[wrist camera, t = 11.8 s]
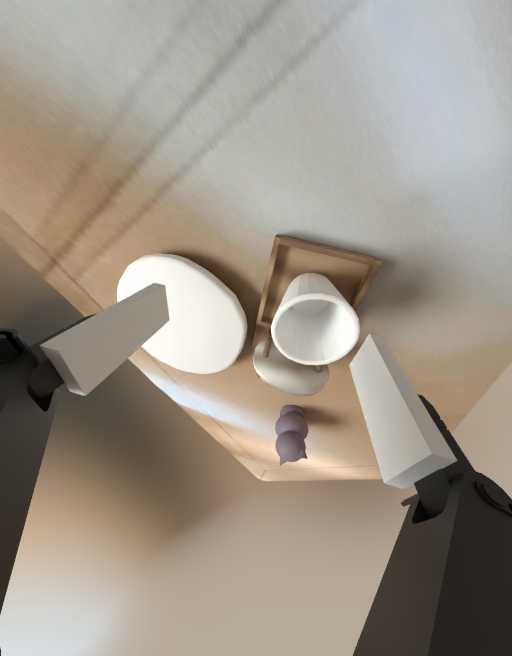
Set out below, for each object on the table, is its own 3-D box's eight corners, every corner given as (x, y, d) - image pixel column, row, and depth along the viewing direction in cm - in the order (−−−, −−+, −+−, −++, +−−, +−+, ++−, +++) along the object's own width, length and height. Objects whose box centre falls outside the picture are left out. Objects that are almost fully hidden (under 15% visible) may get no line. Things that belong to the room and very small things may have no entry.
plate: (124, 355, 46) (93, 238, 32) (145, 341, 51) (126, 235, 37) (229, 398, 42) (249, 285, 27) (240, 378, 47) (261, 274, 33)
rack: (277, 234, 30) (261, 250, 18) (375, 257, 29) (427, 290, 17) (252, 345, 42) (233, 398, 31) (319, 364, 41) (327, 426, 30)
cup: (305, 250, 29) (307, 274, 18) (354, 286, 30) (382, 327, 20) (269, 299, 34) (255, 339, 24) (312, 328, 36) (317, 377, 25)
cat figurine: (294, 398, 49) (293, 446, 39) (314, 415, 51) (317, 465, 41) (271, 409, 53) (264, 455, 43) (289, 424, 55) (287, 471, 45)
